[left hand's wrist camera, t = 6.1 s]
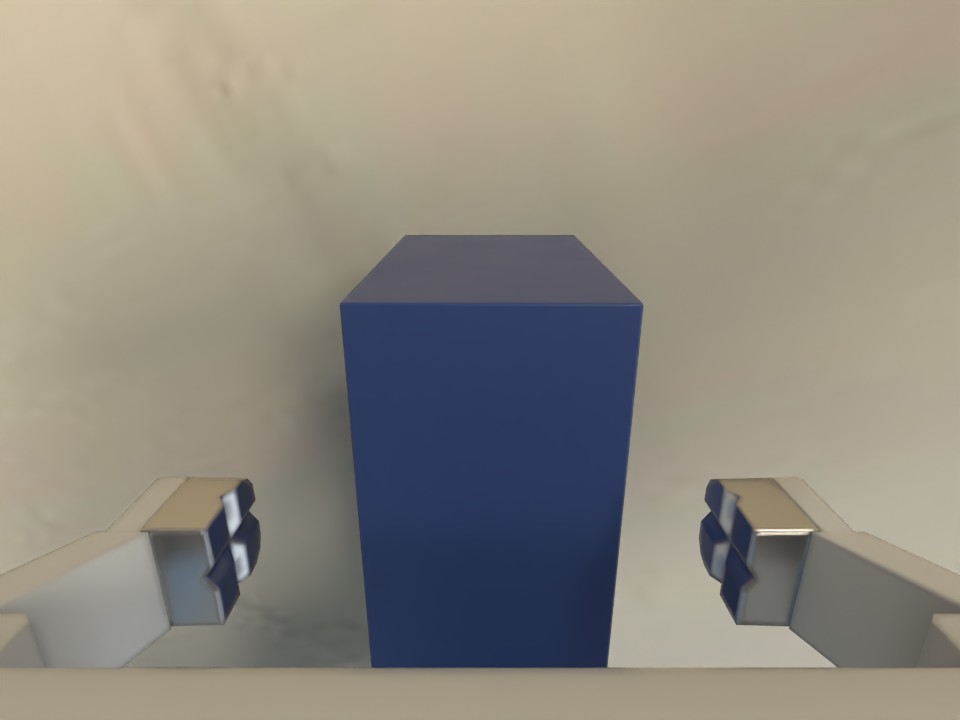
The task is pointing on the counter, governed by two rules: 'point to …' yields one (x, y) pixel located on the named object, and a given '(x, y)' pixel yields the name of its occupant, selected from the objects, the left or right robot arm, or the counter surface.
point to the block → (490, 449)
